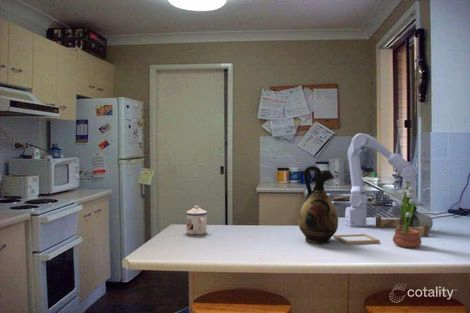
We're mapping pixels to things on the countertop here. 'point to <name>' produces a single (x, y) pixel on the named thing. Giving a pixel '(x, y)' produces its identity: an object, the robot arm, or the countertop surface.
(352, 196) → the robot arm
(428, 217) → the ceramic mug
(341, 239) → the frame lid
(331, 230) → the ceramic jug
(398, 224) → the cedar frame
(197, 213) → the teacup with lid
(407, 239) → the potted flower
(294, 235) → the countertop surface
